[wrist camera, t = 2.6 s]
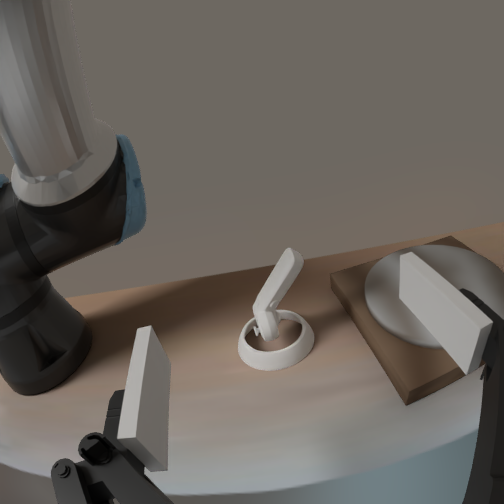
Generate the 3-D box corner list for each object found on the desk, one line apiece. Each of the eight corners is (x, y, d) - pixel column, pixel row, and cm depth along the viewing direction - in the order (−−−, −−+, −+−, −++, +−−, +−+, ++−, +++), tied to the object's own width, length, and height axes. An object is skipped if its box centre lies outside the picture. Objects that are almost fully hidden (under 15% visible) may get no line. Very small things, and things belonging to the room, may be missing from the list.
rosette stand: (405, 405, 21) (411, 383, 19) (331, 288, 37) (328, 266, 36) (542, 323, 22) (550, 300, 20) (449, 248, 38) (451, 228, 36)
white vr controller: (374, 300, 25) (309, 290, 22) (302, 384, 31) (241, 385, 28) (335, 248, 31) (275, 231, 28) (279, 331, 37) (224, 325, 33)
